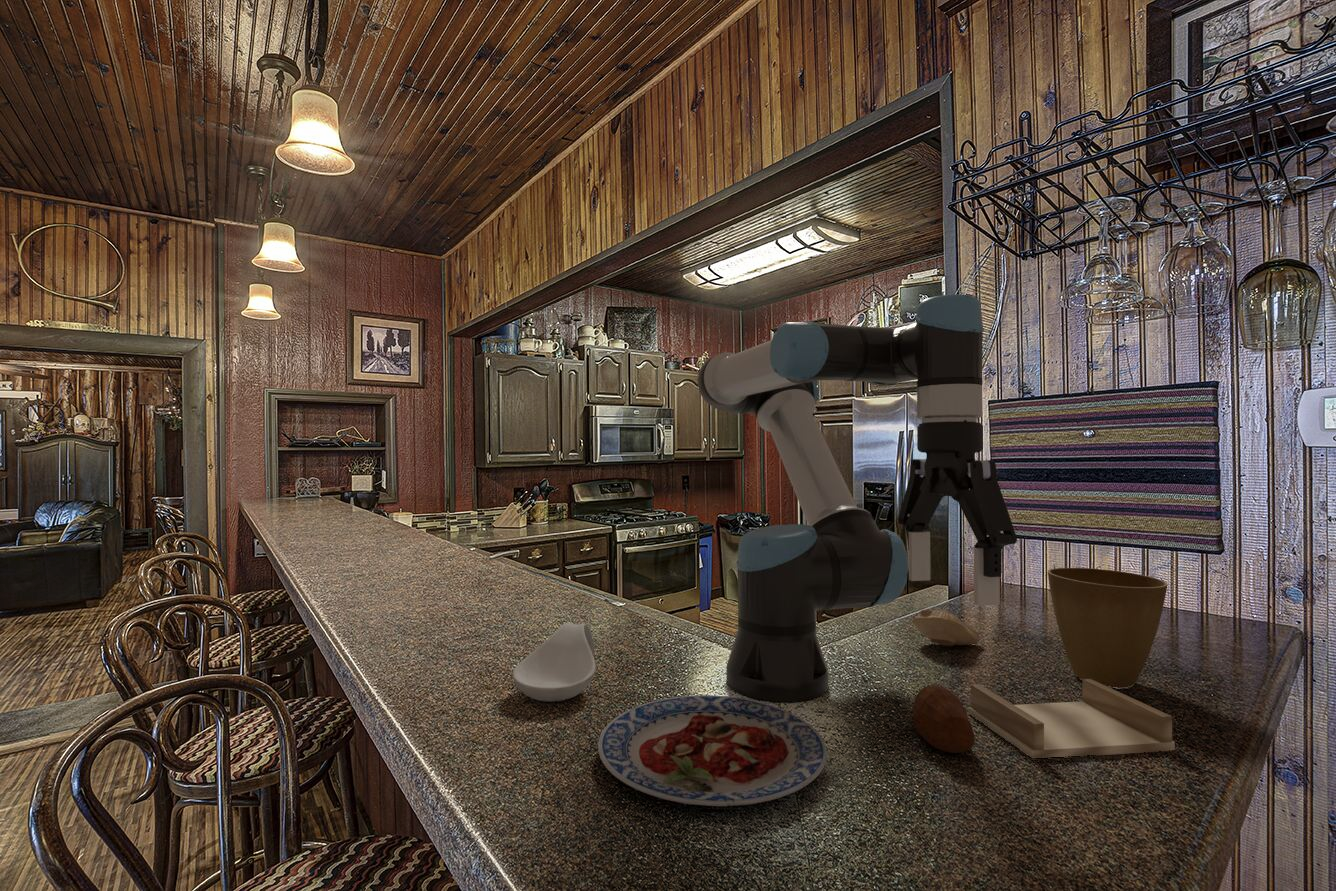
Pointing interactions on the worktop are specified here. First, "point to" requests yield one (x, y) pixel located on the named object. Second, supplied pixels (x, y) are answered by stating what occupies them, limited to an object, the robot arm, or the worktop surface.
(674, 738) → the ceramic plate
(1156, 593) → the plant pot
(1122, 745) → the tray
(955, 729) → the potato
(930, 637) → the pottery oil lamp
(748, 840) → the worktop surface
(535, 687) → the spoon rest
